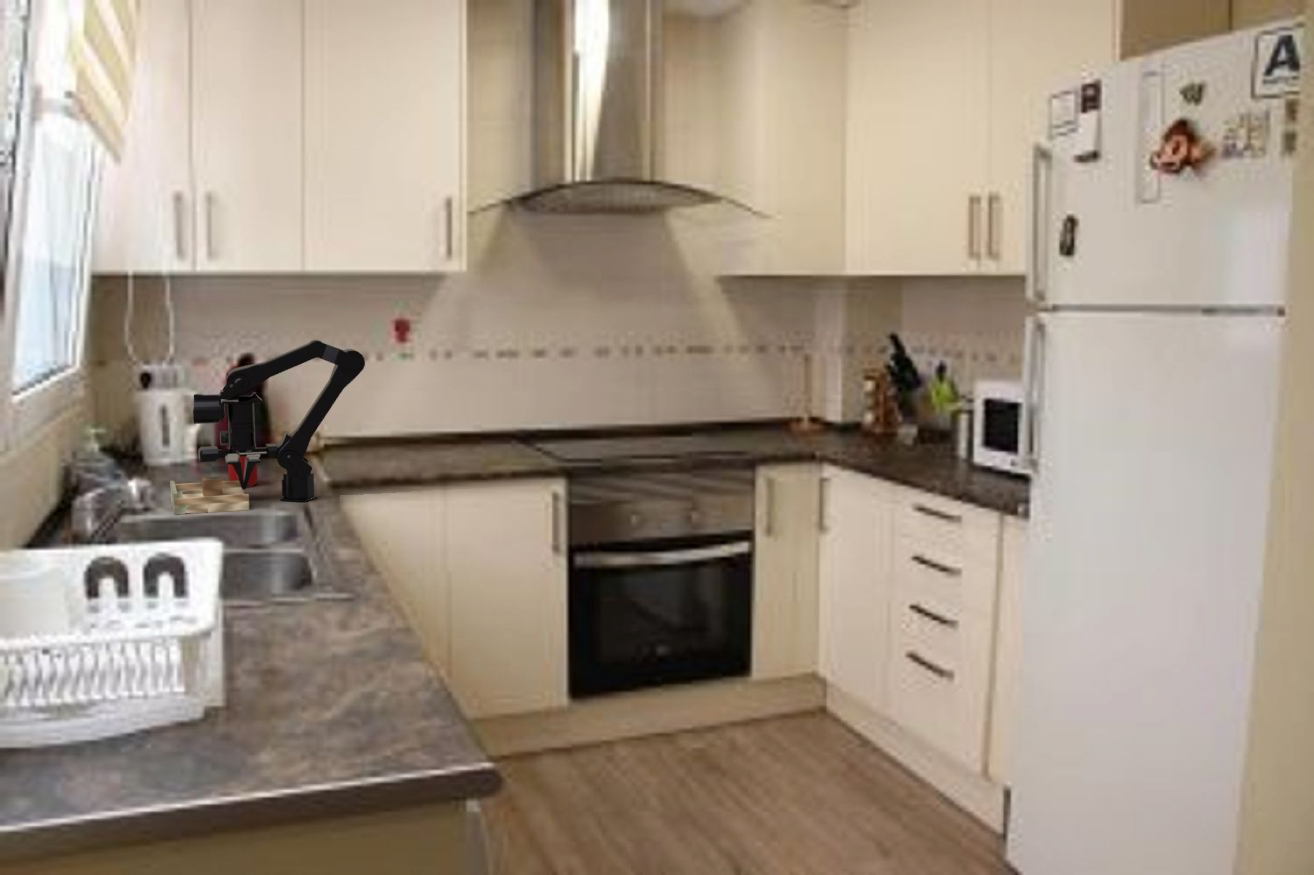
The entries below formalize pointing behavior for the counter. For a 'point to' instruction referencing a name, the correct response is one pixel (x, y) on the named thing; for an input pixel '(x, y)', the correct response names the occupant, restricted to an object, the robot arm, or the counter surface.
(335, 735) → the counter surface
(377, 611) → the counter surface
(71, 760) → the counter surface
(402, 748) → the counter surface
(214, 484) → the walnut block
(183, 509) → the trap track
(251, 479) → the beverage can
